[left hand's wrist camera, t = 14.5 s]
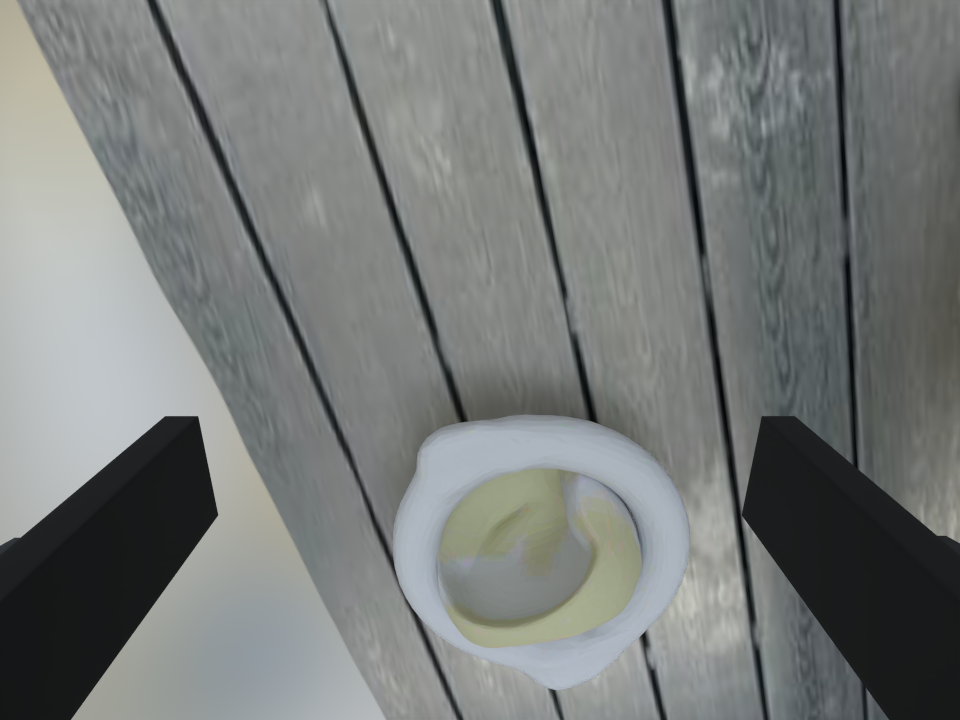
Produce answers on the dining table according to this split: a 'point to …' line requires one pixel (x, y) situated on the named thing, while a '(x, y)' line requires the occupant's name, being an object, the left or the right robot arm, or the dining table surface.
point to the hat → (540, 543)
